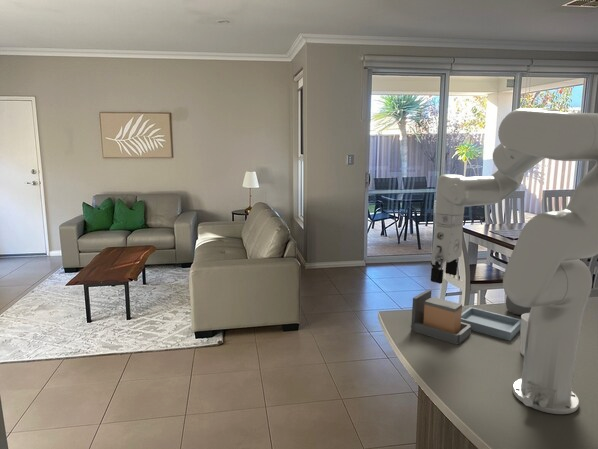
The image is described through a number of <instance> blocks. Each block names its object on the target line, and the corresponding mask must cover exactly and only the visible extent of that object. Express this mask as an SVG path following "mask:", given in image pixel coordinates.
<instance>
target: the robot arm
mask: <svg viewBox="0 0 598 449" xmlns="http://www.w3.org/2000/svg"><path fill="white" fill-rule="evenodd" d="M497 135H498V139H499V142H500V143H499V144H498V145H497V146H496V147H495V148H494V150H493V151H492V161H493V163H494V166H495V167H496V169H497V171H495V172H494V173H492V174H491V175H489V176H487V175H485V176H484V175H482V176H481V175H480V176H476V175H475V176H465V175H462V174H456V173H455V174H454V173H453V174H452V173H450V174H449V173H445V174H441V175H440V176H439V177H438V179H437V185H436V198H435V199H436V200H435V209H434V210H435V212H434V223H433V224H434V225H435V227H434V234H433V241H432V249H431V251H432V252H431V255H430V268H431V270H430V271H431V273H430V282H432V283H436V284H439V285H440V284H443V281H444V279H443V278H444V269H443V268H444V265H445V274H447V275H451V276H456V275H457V274H458V263H459V258H460V257H461V256H462V253H463V252H462V251H463V226H464V216H465V215H464V214H465V207H474V206H476V207H477V206H491V205H495V204H498V203H500V202H501V201H504V200H505V199H506V198H508V197H509V196H511V195H512V194H513V193H515V192H516V191H518V189H519V188H520V186H521V184H522V182H523V181H524V180H523V179H524V177H525V173H526V172H528V171H530V169H532V168H534V167H535V166H536V165H537V164H539V163H540V162H542V161H544V159H548V160H553V161H561V162H590V161H591V162H592V161H595V165H594V166H593V167H592V168H591V169H590V170H589V171H588V172H587V173H586V174H585V175H584V176H583V177H582V179H581V180H580V181H579V183H578V184H577V186H576V188H575V190H574V192H573V194H572V196H571V198H570V200H569V202H568V203H567V205H566V206H565V207H564V208H563V209H561V210H555V211H554V210H553V211H545V212H541V213H539V214H537V215H534V216H533V217H531V218H530V219H529V220H528V221H527V222H526V223H525V225H524V226H523V228H522V230H521V232H520V233H519V236H518V238H517V241H516V243H515V245H514V248H513V251H512V252H511V255H510V257H509V259H508V262H507V264H506V266H505V269H504V272H503V279H502V286H503V290H504V293H505V295H506V297H508V298H509V300H510V301H512V302H513V303H514V304H516V305H518V306H522V307H532V308H531V311H530V314H529V318H528V325H527V334H526V343H525V352H524V356H523V362H522V363H523V364H522V373H521V378H519V379H517V380H515V381H514V382H513V384H512V393H513V395H514V396H515V397H516V398H517V399H518V400H519V401H520V402H522V403H523V404H524V405H525V406H527V407H530V408H532V409H534V410H537V411H540V412H543V413H547V414H553V415H568V414H572V413H575V412H576V411H577V410H578V409H579V407H580V400H579V398H578V395H576V393H574V392H573V382H574V378H575V368H576V362H577V361H576V360H577V356H578V355H577V354H578V349H579V348H578V347H579V339H580V334H581V329H582V328H581V327H582V321H583V316H584V312H585V309H586V305H587V302H588V300H589V297H590V296H591V295H590V294H591V292H592V287H593V276H592V273H591V270H590V268H589V267H588V266H587V265H586V263H585V262H584V261H582V260H581V259H588V258H592V257H596V256H597V255H598V112H596V113H594V112H593V113H592V112H567V111H564V112H563V111H561V110H559V109H553V108H542V107H541V108H538V107H537V108H536V107H522V108H517V109H514V110H512V111H510V112H509V113H508V114H506V116H505V117H504V118H502V121H501V122H500V125H499V127H498V134H497Z"/></svg>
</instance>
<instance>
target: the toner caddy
mask: <svg viewBox="0 0 598 449" xmlns="http://www.w3.org/2000/svg"><path fill="white" fill-rule="evenodd" d="M462 311H463V304H462V303H459V302H455V301H451V300H446V299H443V298H439V297H435V296H431V298H429V299H428V300H426V301H425V305H424V321H423V324H424V325H427V326H431V327H434V328H437V329H441V330H444V331H448V332H451V333H454V334H457V333H459V332H460V326H461V313H463V312H462Z"/></svg>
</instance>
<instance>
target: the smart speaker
mask: <svg viewBox="0 0 598 449" xmlns="http://www.w3.org/2000/svg"><path fill="white" fill-rule="evenodd" d="M505 306H506V307H505V308H506V310H507V311H508V312H509V313H511V314H512V315H514V316H517V315H518V317H521V315H522V314H525V313H530V311H531V308H532V307H522V306H518V305H516V304H514V303H513V302H512V301H510V300H509V298H508V297H507V296H506V297H505Z"/></svg>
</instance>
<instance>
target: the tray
mask: <svg viewBox="0 0 598 449" xmlns="http://www.w3.org/2000/svg"><path fill="white" fill-rule="evenodd" d="M461 322H463V323H467V324H470V325H471V331H474V332H478V333H481V334H483V335H487V336H492V337H495V338H498V339H501V340H506V341H512V340H513V339H514V337H515V336H516V335H517V334H518V333H519V332H520V329H521V318H515V317H513V316H508V315H505V314H501V313H496V312H492V311H488V310H485V309H480V308H477V307H476V308H475V307H472V306H469V308H466V310H464V311H463V312H462V313H461Z"/></svg>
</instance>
